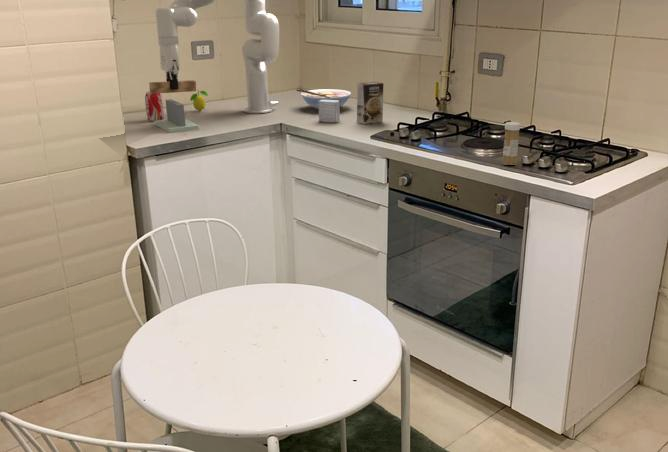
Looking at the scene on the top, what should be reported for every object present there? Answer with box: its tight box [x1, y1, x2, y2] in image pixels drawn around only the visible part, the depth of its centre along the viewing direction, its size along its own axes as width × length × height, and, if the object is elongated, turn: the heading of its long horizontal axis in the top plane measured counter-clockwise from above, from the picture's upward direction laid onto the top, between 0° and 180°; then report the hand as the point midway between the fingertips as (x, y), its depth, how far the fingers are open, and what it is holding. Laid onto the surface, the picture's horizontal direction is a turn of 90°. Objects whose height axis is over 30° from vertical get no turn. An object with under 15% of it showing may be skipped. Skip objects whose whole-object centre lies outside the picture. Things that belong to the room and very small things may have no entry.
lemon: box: [189, 90, 209, 112], centre depth 294 cm, size 7×6×10 cm
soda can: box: [144, 90, 165, 122], centre depth 276 cm, size 7×7×12 cm
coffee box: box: [356, 81, 384, 125], centre depth 267 cm, size 9×6×16 cm
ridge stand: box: [154, 99, 200, 134], centre depth 264 cm, size 12×19×10 cm, turn 32°
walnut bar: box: [148, 79, 197, 94], centre depth 260 cm, size 18×3×4 cm, turn 122°
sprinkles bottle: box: [501, 121, 521, 165], centre depth 204 cm, size 5×5×14 cm
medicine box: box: [318, 100, 341, 123], centre depth 271 cm, size 8×4×9 cm, turn 71°
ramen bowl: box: [296, 88, 351, 110], centre depth 297 cm, size 25×23×8 cm
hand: (172, 88), depth 260 cm, fingers closed on walnut bar, 3 cm apart
